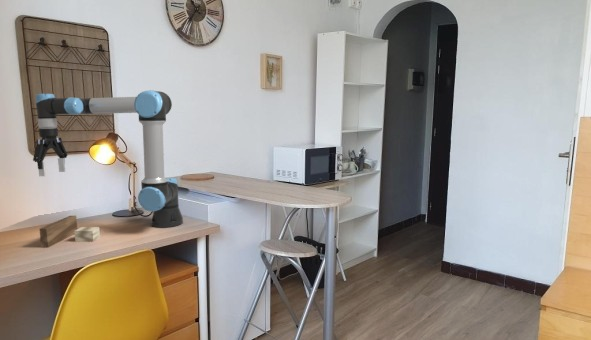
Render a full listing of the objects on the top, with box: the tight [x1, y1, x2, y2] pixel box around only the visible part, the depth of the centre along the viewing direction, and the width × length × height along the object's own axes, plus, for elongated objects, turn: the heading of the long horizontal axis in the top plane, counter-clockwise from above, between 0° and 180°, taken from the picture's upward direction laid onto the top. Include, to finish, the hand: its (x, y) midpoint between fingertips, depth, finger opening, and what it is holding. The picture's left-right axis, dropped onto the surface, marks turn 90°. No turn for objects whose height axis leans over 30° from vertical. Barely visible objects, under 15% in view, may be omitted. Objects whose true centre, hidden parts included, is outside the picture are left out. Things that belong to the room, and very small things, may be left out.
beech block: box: [74, 226, 101, 243], centre depth 190 cm, size 8×6×5 cm
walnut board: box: [39, 215, 78, 248], centre depth 190 cm, size 3×22×8 cm, turn 177°
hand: (52, 174), depth 200 cm, fingers open, 13 cm apart
